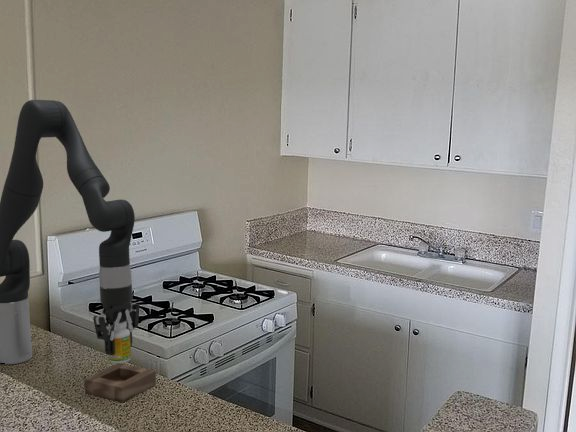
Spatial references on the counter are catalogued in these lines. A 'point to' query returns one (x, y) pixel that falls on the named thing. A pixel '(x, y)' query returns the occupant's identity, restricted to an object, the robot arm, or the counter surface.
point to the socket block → (120, 382)
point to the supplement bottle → (121, 344)
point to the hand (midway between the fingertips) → (119, 350)
